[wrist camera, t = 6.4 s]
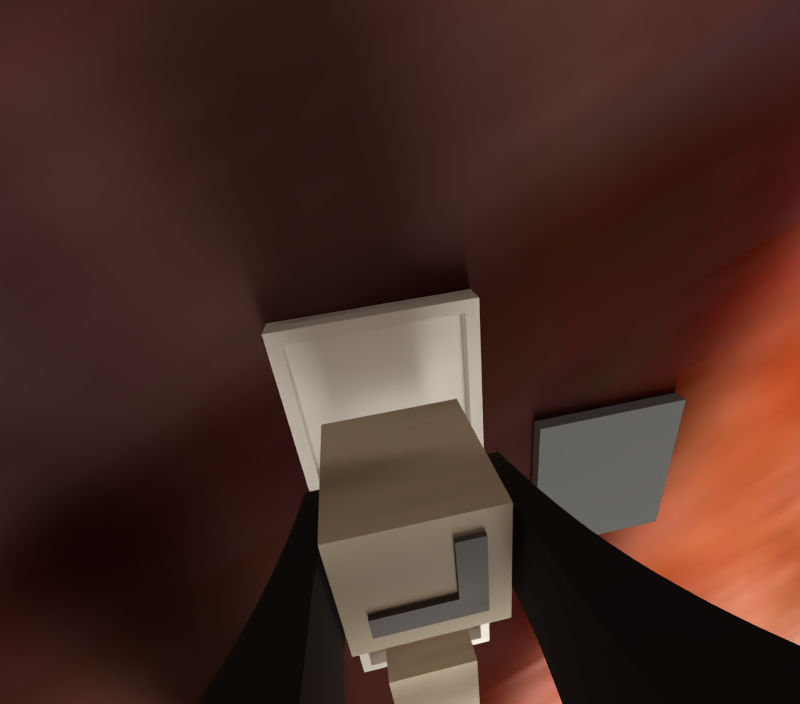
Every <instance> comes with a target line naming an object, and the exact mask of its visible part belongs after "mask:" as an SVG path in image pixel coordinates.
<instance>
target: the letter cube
mask: <svg viewBox="0 0 800 704" xmlns="http://www.w3.org/2000/svg"><path fill="white" fill-rule="evenodd" d="M512 531H513V502H512V500H511V498H510V496H509V494H508V492H507V491H506V489H505V487H504V485H503V483H502V481H501V480H500V478H499V476H498V474H497V472H496V470H495V468H494V467H493V465H492V463H491V461H490V459H489V457H488V455H487V454H486V452H485V450H484V448H483V446H482V444H481V443H480V441H479V439H478V437H477V435H476V433H475V431H474V430H473V428H472V426H471V424H470V422H469V420H468V419H467V417H466V415H465V413H464V411H463V409H462V407H461V406H460V404H459V402H458V400H457V399H452V400H447V401H442V402H437V403H431V404H426V405H421V406H416V407H410V408H405V409H400V410H395V411H390V412H384V413H379V414H374V415H369V416H364V417H358V418H353V419H348V420H343V421H338V422H332V423H327V424H322V425H321V447H320V480H319V514H318V548H319V552H320V555H321V558H322V561H323V564H324V568H325V571H326V574H327V577H328V580H329V584H330V587H331V590H332V593H333V596H334V600H335V603H336V606H337V609H338V612H339V616H340V619H341V622H342V625H343V628H344V632H345V635H346V638H347V641H348V644H349V648H350V651H351V654H352V657H354V656H358V655H362V654H366V653H370V652H374V651H378V650H382V649H386V648H390V647H394V646H398V645H402V644H406V643H410V642H414V641H418V640H422V639H426V638H430V637H434V636H438V635H442V634H446V633H450V632H455V631H459V630H463V629H467V628H471V627H475V626H479V625H483V624H487V623H491V622H495V621H499V620H503V619H507V618H511V594H512Z"/></svg>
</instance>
